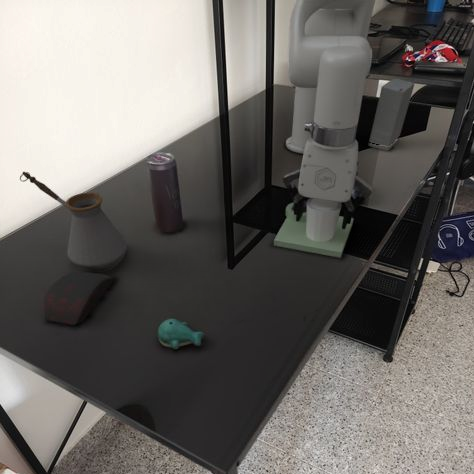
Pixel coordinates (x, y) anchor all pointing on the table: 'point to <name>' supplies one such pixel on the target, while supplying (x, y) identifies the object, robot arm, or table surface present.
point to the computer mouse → (75, 296)
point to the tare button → (303, 207)
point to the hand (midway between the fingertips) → (321, 222)
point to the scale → (297, 238)
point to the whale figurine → (178, 334)
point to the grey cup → (321, 219)
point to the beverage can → (165, 191)
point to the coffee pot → (89, 231)
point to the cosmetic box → (390, 113)
